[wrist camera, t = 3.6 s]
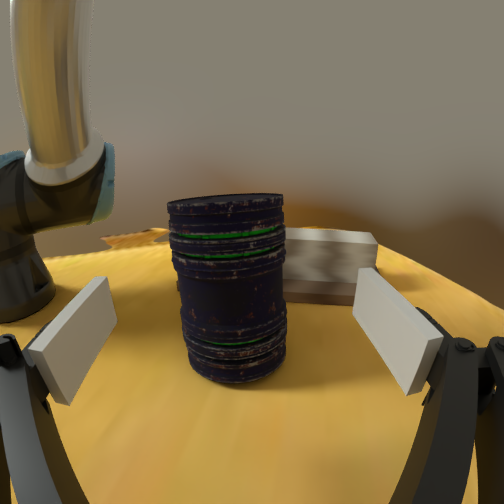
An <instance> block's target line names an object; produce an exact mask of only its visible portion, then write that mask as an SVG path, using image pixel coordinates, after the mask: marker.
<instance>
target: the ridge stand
mask: <svg viewBox="0 0 504 504" xmlns="http://www.w3.org/2000/svg"><path fill="white" fill-rule="evenodd" d="M285 230H286V240H285V249H286V255H285V262H284V264H283V298H284V299H285V302H298V303H313V304H329V305H348V306H354V300H355V293H356V286H357V279H358V271H359V268H371V267H372V268H373V269H374V270H375V271H376V272H377V273H378V274H379V275H380V273H379V271H378V269H377V267H376V257H377V250H378V243H377V242H376V240H375V239H374V237H373V236H372V235H371V233H368V232H353V231H337V230H320V229H302V228H286V229H285ZM380 276H381V275H380ZM177 290H178V291H180V289H179V282H178V281H177Z"/></svg>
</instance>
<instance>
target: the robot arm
mask: <svg viewBox="0 0 504 504" xmlns="http://www.w3.org/2000/svg"><path fill="white" fill-rule="evenodd" d="M93 7H94V0H10V31H11V48H12V58H13V67H14V75H15V82H16V88H17V94H18V99H19V104H20V110H21V114H22V119H23V123H24V127H25V131H26V135H27V139H28V142H29V146H30V149H29V150H28V152H27V154H26V156H25V155H24V152H23V151H12V152H9V153H6V154H4V155H0V323H5V322H11V321H15V320H18V319H21V318H24V317H26V316H29V315H31V314H33V313H34V312H36V311H38V310H39V309H41V308H42V307H44V306H45V305H46V304H47V303H48V302H49V301H50V300H51V299H52V298H53V296H54V294H55V286H54V282H53V278H52V276H51V274H50V272H49V271H48V269H47V267H46V266H45V264H44V262H43V260H42V259H41V257H40V255H39V253H38V251H37V249H36V246H35V242H34V236H33V234H35V233H39V232H44V231H50V230H55V229H61V228H67V227H73V226H79V225H90V224H92V223H93V222H97V221H102V220H105V219H107V218H108V217H109V216H110V215H111V213H112V210H113V204H114V176H115V154H114V146H113V145H112V144H111V143H106V142H104V141H103V137H102V135H101V134H100V132H99V131H98V130H97V129H96V128H94V127H92V126H91V111H90V80H89V79H90V78H89V77H90V43H91V28H92V16H93ZM352 314H353V316H354V317H355V319H356V320H357V322H358V323H359V324H360V326H361V327H362V329H363V330H364V332H365V333H366V335H367V336H368V338H369V339H370V341H371V342H372V344H373V345H374V347H375V348H376V350H377V351H378V353H379V354H380V356H381V357H382V359H383V360H384V362H385V363H386V365H387V367H388V368H389V370H390V371H391V373H392V374H393V376H394V377H395V379H396V381H397V382H398V384H399V385H400V387H401V388H402V390H403V392H404V393H405V395H406V396H408V395H411V394H414V393H418V392H421V391H422V389H423V386H424V384H425V382H426V380H427V382H428V383H429V385H430V386H431V387H430V389H429V391H428V393H427V395H426V397H425V399H424V401H423V403H422V406H424V409H423V413H422V416H421V420H420V423H419V427H418V430H417V433H416V436H415V439H414V442H413V445H412V448H411V451H410V454H409V457H408V459H407V462H406V465H405V467H404V470H403V472H402V475H401V477H400V480H399V482H398V484H397V487H396V489H395V491H394V493H393V495H392V498H391V500H390V502H389V504H461V503H462V500H463V496H464V492H465V488H466V484H467V479H468V475H469V470H470V465H471V459H472V453H473V446H474V439H475V448H476V458H477V472H478V504H504V337H498V336H497V337H493V338H491V339H490V341H489V344H488V346H487V347H485V348H477V347H476V346H475V344H474V343H473V342H471V341H470V340H468V339H465V338H459V337H457V338H453V337H452V336H451V335H450V334H449V333H448V332H447V331H446V330H445V329H444V328H443V327H442V326H441V325H440V324H438V323H437V322H436V321H435V320H434V319H433V318H432V317H431V316H430V315H429V314H428V313H427V312H426V311H424V310H422V309H420V308H418V307H414V306H413V305H412V304H411V303H410V302H409V301H408V300H406V299H405V298H404V297H403V296H402V295H401V294H400V293H399V292H398V291H397V290H396V289H395V288H394V287H393V286H391V285H390V284H389V283H388V282H387V281H386V280H385V279H384V278H383V277H382V276H380V275H379V274H378V273H377V272H376V271H375V270H374V269H373V268H372V267H371V268H359V271H358V279H357V286H356V293H355V300H354V306H353V312H352ZM117 322H118V321H117V317H116V313H115V309H114V305H113V301H112V297H111V292H110V288H109V283H108V278H107V277H94V278H93V279H92V280H91V281H90V282H89V283H88V284H87V285H86V286H85V287H84V288H83V289H82V290H81V291H80V292H79V293H78V294H77V295H76V296H75V297H74V298H73V299H72V300H71V301H70V302H69V303H68V305H67V306H66V307H65V308H64V309H63V310H62V311H61V312H60V313H59V314H58V315H57V316H56V317H55V318H54V320H52V321H50V322H49V323H47V324H45V325H44V326H43V328H42V329H41V330H40V331H39V332H38V333H37V334H36V335H35V337H34V338H33V339H32V340H31V341H30V342H29V343H28V344H27V346H26V347H25V348H24V349H23V350H22V351H21V349H20V347H19V345H18V342H17V340H16V338H15V336H14V335H12V334H4V335H1V336H0V504H12V503H11V489H10V477H11V481H12V484H13V488H14V492H15V495H16V498H17V502H18V504H89V502H88V500H87V498H86V496H85V494H84V492H83V490H82V488H81V486H80V484H79V482H78V480H77V478H76V476H75V473H74V471H73V469H72V467H71V464H70V462H69V459H68V457H67V454H66V452H65V449H64V447H63V444H62V441H61V439H60V436H59V433H58V430H57V427H56V424H55V421H54V418H53V414H52V411H51V408H50V404H49V402H48V401H47V399H46V397H47V396H48V394H49V392H50V394H51V396H52V397H53V399H54V401H55V402H56V403H60V404H64V405H68V406H70V404H71V402H72V400H73V398H74V396H75V395H76V393H77V391H78V389H79V387H80V385H81V383H82V382H83V380H84V378H85V376H86V374H87V373H88V371H89V369H90V367H91V366H92V364H93V362H94V360H95V359H96V357H97V355H98V353H99V352H100V350H101V348H102V347H103V345H104V343H105V342H106V340H107V338H108V337H109V335H110V333H111V332H112V330H113V328H114V327H115V325H116V323H117ZM495 386H496V392H495V389H494V388H495ZM424 404H425V405H424Z"/></svg>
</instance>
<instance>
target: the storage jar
mask: <svg viewBox="0 0 504 504" xmlns="http://www.w3.org/2000/svg"><path fill="white" fill-rule="evenodd" d="M282 205H283V195H282V194H273V193H272V194H271V193H250V194H229V195H228V194H227V195H214V196H204V197H195V198H188V199H181V200H175V201H171V202H168V203H167V210H168V213H169V214H170V220H169V230H170V231H171V233H170V234H169V242H170V248H171V249H172V262H173V266H174V269H175V270H176V272H177V275H178V282H179V289H180V296H181V303H182V306H181V309H180V314H181V320H182V331H183V337H184V341H185V343H186V347H187V350H188V357H189V361H190V364H191V366H192V368H193V369H194V370H195V371H196V372H197V373H198V374H200V375H201V376H203V377H205V378H208V379H210V380H213V381H217V382H223V383H243V382H250V381H254V380H257V379H260V378H263V377H265V376H267V375H269V374H271V373H272V372H274V371H275V370H276V369H278V368H279V367H280V365H281V364H282V363H283V361H284V359H285V356H286V346H285V342H286V334H287V318H286V315H287V309H286V302H285V299H284V298H283V264H284V262H285V255H286V249H285V240H286V230H285V229H286V227H285V225H284V224H283V223H284V213H283V212H282Z"/></svg>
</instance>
